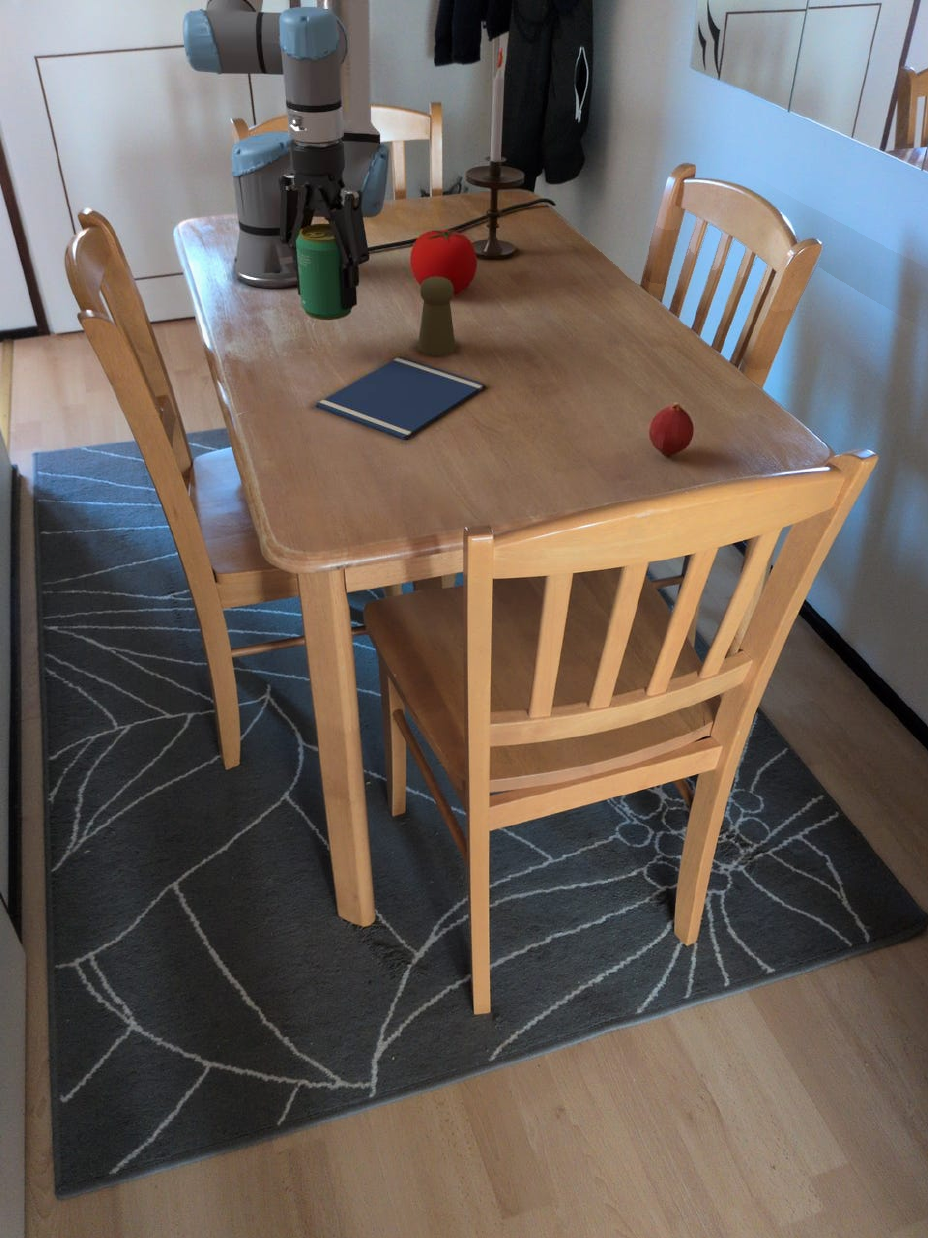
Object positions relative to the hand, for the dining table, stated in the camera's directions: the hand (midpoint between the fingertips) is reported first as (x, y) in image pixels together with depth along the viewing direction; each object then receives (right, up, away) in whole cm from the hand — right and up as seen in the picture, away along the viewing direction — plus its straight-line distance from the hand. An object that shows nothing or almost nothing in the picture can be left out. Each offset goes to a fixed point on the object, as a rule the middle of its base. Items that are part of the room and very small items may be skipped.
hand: (327, 299), depth 152 cm
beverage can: (0, -1, +1) cm, 2 cm away
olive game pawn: (+17, -5, +8) cm, 19 cm away
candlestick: (+26, +23, +42) cm, 55 cm away
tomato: (+17, +10, +26) cm, 33 cm away
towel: (+12, -16, -6) cm, 21 cm away
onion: (+48, -27, -17) cm, 58 cm away
